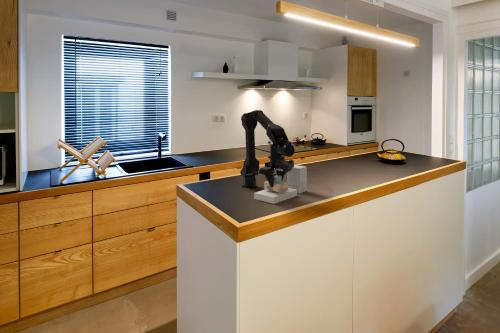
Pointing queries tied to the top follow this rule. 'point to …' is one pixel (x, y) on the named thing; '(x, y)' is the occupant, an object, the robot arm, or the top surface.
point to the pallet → (276, 186)
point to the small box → (297, 178)
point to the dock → (274, 195)
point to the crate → (277, 179)
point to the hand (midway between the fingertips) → (275, 186)
